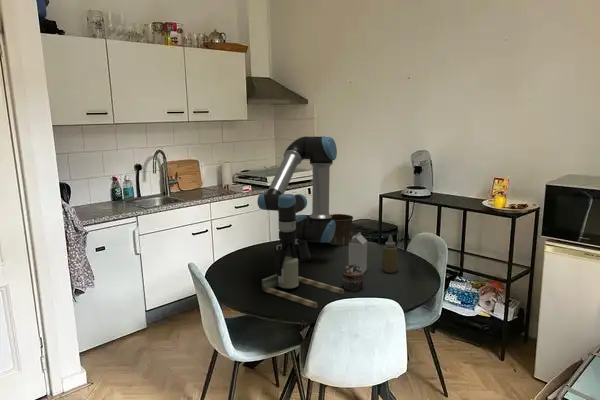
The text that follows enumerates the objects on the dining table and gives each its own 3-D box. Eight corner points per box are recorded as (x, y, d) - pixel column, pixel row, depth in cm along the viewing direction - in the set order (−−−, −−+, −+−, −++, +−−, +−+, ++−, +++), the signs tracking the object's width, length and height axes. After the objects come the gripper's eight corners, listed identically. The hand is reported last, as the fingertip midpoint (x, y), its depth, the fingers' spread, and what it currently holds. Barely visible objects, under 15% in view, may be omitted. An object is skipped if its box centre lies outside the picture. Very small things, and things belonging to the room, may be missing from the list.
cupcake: (337, 286, 201) (337, 264, 199) (355, 282, 206) (355, 261, 204) (350, 293, 193) (350, 271, 191) (368, 288, 198) (368, 267, 196)
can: (277, 281, 204) (277, 255, 202) (297, 280, 205) (297, 255, 203) (278, 289, 195) (277, 262, 193) (299, 288, 196) (299, 261, 194)
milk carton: (366, 270, 222) (367, 232, 218) (362, 274, 215) (363, 236, 212) (353, 268, 225) (353, 231, 221) (348, 272, 218) (348, 234, 215)
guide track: (262, 290, 197) (261, 279, 197) (291, 278, 212) (291, 268, 211) (315, 308, 178) (315, 296, 177) (343, 293, 193) (343, 282, 192)
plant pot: (358, 244, 266) (358, 217, 263) (336, 248, 258) (336, 221, 255) (342, 238, 280) (342, 212, 277) (320, 242, 272) (320, 216, 269)
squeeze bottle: (398, 274, 215) (399, 237, 212) (381, 273, 217) (381, 237, 213) (398, 268, 223) (398, 233, 220) (381, 267, 225) (382, 232, 221)
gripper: (276, 236, 185) (277, 288, 189) (309, 226, 201) (310, 274, 205) (263, 233, 190) (265, 284, 194) (297, 224, 206) (297, 271, 210)
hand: (288, 279), depth 200 cm, fingers closed on can, 9 cm apart
